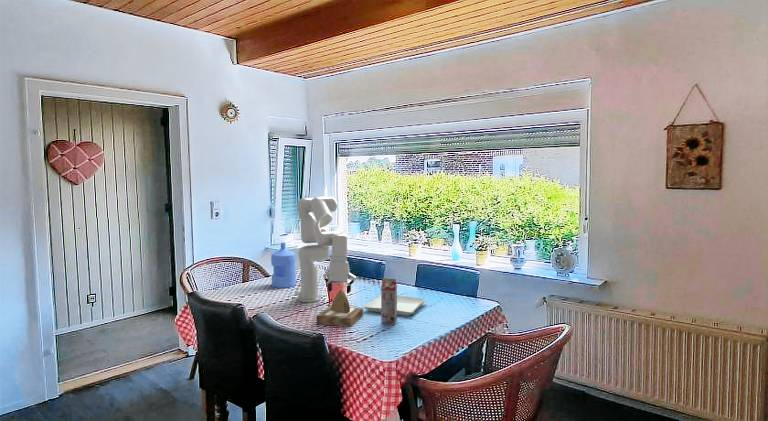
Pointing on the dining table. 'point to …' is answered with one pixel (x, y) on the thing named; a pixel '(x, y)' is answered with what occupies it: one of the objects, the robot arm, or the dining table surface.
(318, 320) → the stand
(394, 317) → the juice carton
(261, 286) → the dining table surface
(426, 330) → the dining table surface
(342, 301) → the rock
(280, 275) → the water jug
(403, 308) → the square plate
